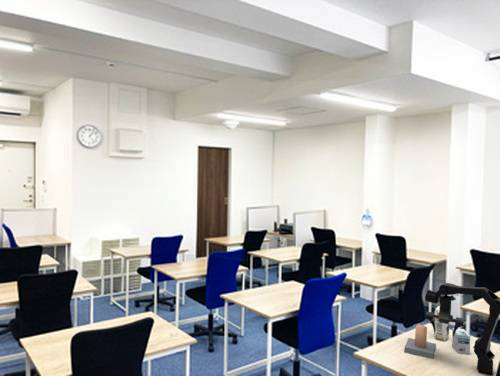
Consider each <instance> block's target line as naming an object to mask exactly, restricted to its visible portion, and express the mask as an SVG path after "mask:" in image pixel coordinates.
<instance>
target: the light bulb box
mask: <svg viewBox="0 0 500 376" xmlns="http://www.w3.org/2000/svg"><path fill="white" fill-rule="evenodd" d="M453 331H454V327H452V333H451V335H452V337H451V338H452V339H451V340H452V341H451V343H452V344H451V346H452V347H453V349H454V350H455V352H456V353H457V354H464V355H470V354H471V335H470V333H468V332H467V331H466V329H463V328H457V330H456V332H455V334H454V336H453Z"/></svg>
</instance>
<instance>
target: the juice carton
mask: <svg viewBox="0 0 500 376" xmlns="http://www.w3.org/2000/svg"><path fill="white" fill-rule="evenodd" d="M439 308H440V305H438V306H437V307H436V308H435V310H434V313H435V315H438V316H439ZM435 328H436V330H435V332H434V331H433V336H434V337H433V338H434V339H435V340H439V341H442V342H446V341H447V340H448V339H449V335H450V323H449V324H445V323H440V322H439V319H435Z"/></svg>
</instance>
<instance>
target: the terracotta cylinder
mask: <svg viewBox="0 0 500 376" xmlns="http://www.w3.org/2000/svg"><path fill="white" fill-rule="evenodd" d="M427 330H428V327H427V326H426V325H425V324H415V332H414V333H415V334H414V335H415V336H414V339H415V345H416V346H417V347H420V348H425V347H426V342H428V341H427V340H428V339H427V338H428V336H427V335H428V334H427V333H428V331H427Z"/></svg>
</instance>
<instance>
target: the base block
mask: <svg viewBox="0 0 500 376" xmlns="http://www.w3.org/2000/svg"><path fill="white" fill-rule="evenodd" d="M436 350H437V343H435V342H434V343H433V342H429V341H426V347H425V348H420V347H417V346H416V345H415V338H412V337H408V338H407V341H406V342H405V345H404V353H406V354H410V355H415V356H419V357H422V358H428V359H431V360H434V358H435V354H436Z"/></svg>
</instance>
